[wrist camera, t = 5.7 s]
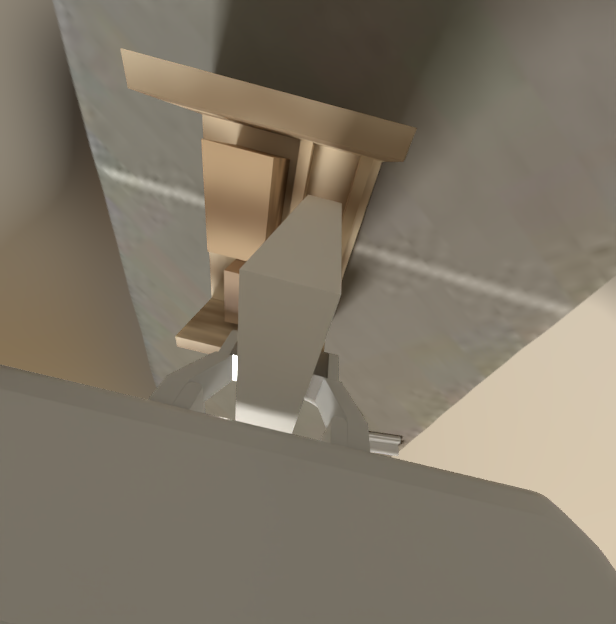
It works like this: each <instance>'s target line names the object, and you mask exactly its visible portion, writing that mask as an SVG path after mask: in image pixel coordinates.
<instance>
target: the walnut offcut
mask: <svg viewBox="0 0 616 624" xmlns="http://www.w3.org/2000/svg"><path fill="white" fill-rule="evenodd" d="M246 262H247V261H244V260H240V259H235V260H234V261H233V262H232V263H231V264H230V265H229V266H228V267H227V268H226V269H225V270H224V314H225V321H226V322H230V323H234V324H238V306H239V269H240V268H241V267H242V266H243V265H244V264H245V263H246Z"/></svg>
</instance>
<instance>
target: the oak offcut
mask: <svg viewBox="0 0 616 624" xmlns="http://www.w3.org/2000/svg"><path fill="white" fill-rule="evenodd" d="M201 141H202V159H203V176H204V194H205V212H206V230H207V248H208V252H212V253H216V254H220V255H224V256H228V257H232V258H236V259H240V260H244V261H247V260H248V259H249V258H250V257H251V256H252V255H253V254H254V253H255V252H256V251H257V250H258V248H259V247H260V246H261V245H262V244H263V243H264V242H265V241H266V240H267V239H268V238H269V237H270V235H271V234H272V233H273V232H274V231H275V230H276V229H277V228H278V227H279V226H280V225H281V222H282V215H283V208H284V200H285V193H286V186H287V178H288V171H289V164H290V159H289V158H285V157H281V156H277V155H274V154H270V153H266V152H262V151H258V150H255V149H251V148H247V147H243V146H239V145H235V144H229V143H224V142H218V141H212V140H206V139H201Z"/></svg>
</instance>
